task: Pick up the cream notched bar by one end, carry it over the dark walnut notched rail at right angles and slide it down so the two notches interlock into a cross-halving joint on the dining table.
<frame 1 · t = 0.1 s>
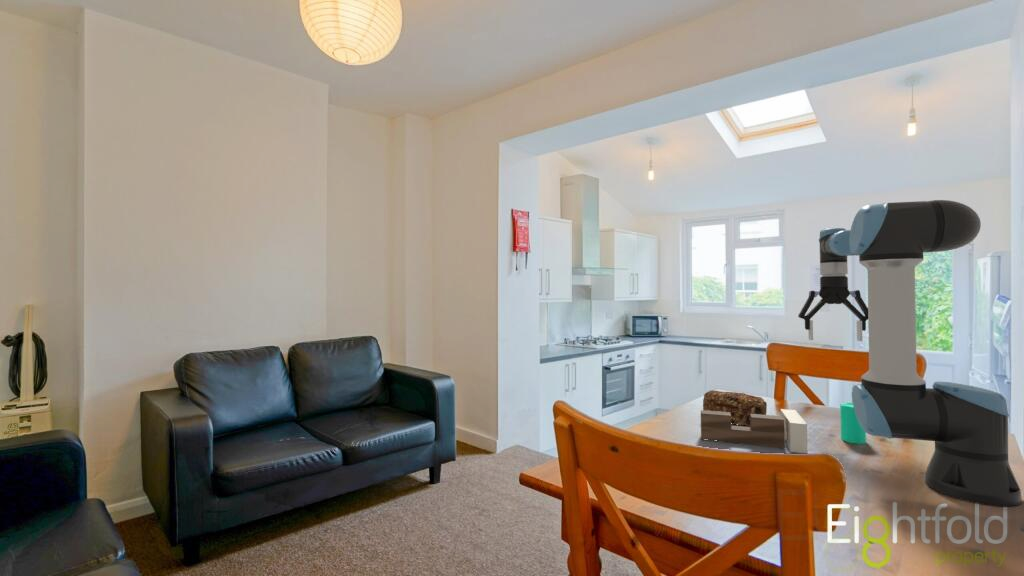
hand: (834, 340, 154), 28 cm above the table, fingers open, 13 cm apart
cream bar: (793, 443, 137), on the table
bread: (734, 422, 161), on the table
walnut rail: (741, 441, 139), on the table
candle: (853, 441, 139), on the table
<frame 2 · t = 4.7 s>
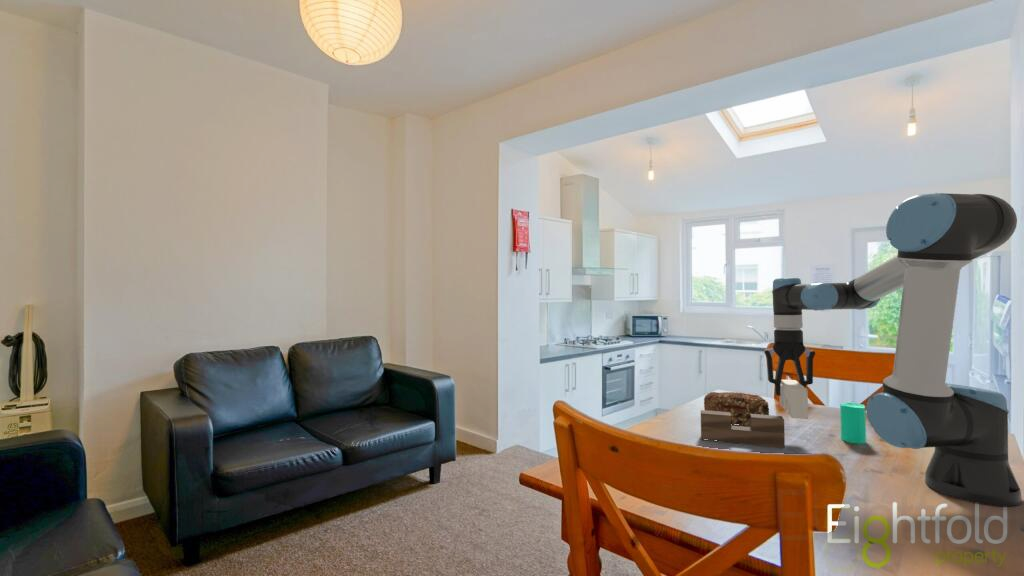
hand: (790, 406, 141), 10 cm above the table, fingers closed on cream bar, 4 cm apart
cream bar: (794, 411, 136), point 9 cm above the table, touching gripper
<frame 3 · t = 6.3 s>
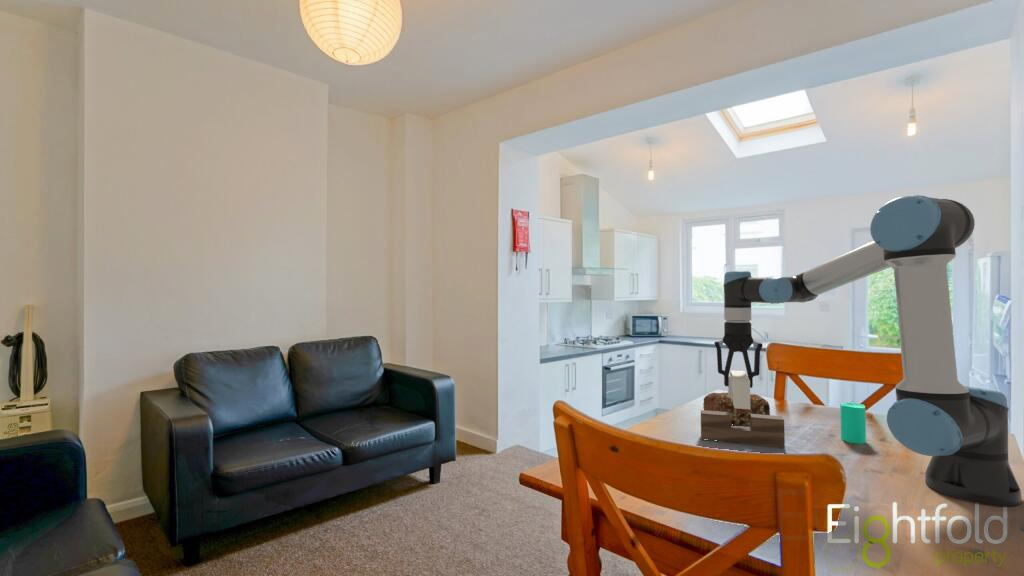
hand: (738, 397, 144), 12 cm above the table, fingers closed on cream bar, 4 cm apart
cream bar: (739, 402, 140), point 12 cm above the table, touching gripper
when the fingers open (1 cm above the table, at t = 8.1 s): cream bar stays where it is, resting on walnut rail.
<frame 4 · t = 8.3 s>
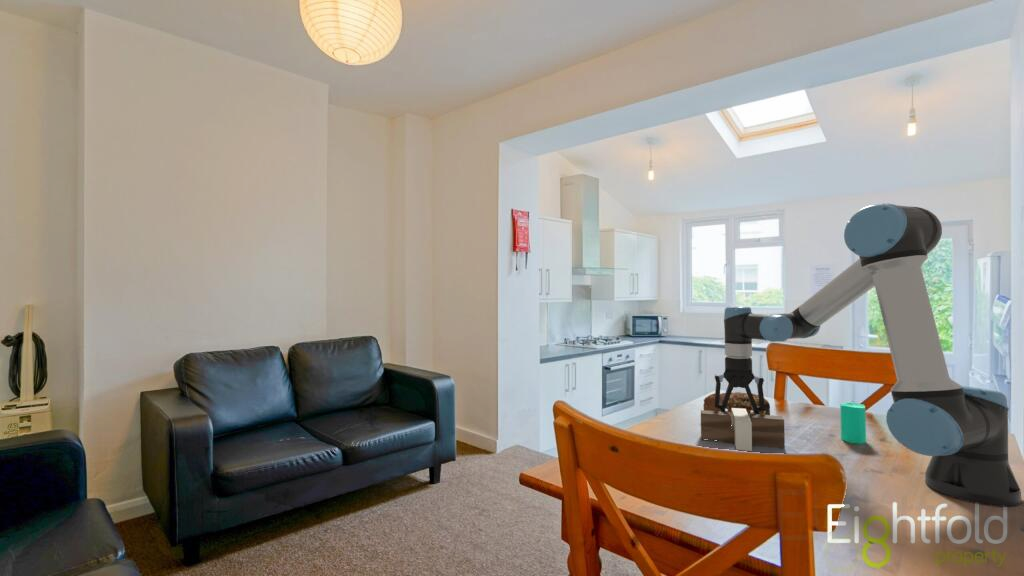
hand: (739, 431, 144), 1 cm above the table, fingers open, 7 cm apart
cream bar: (741, 441, 139), resting on walnut rail
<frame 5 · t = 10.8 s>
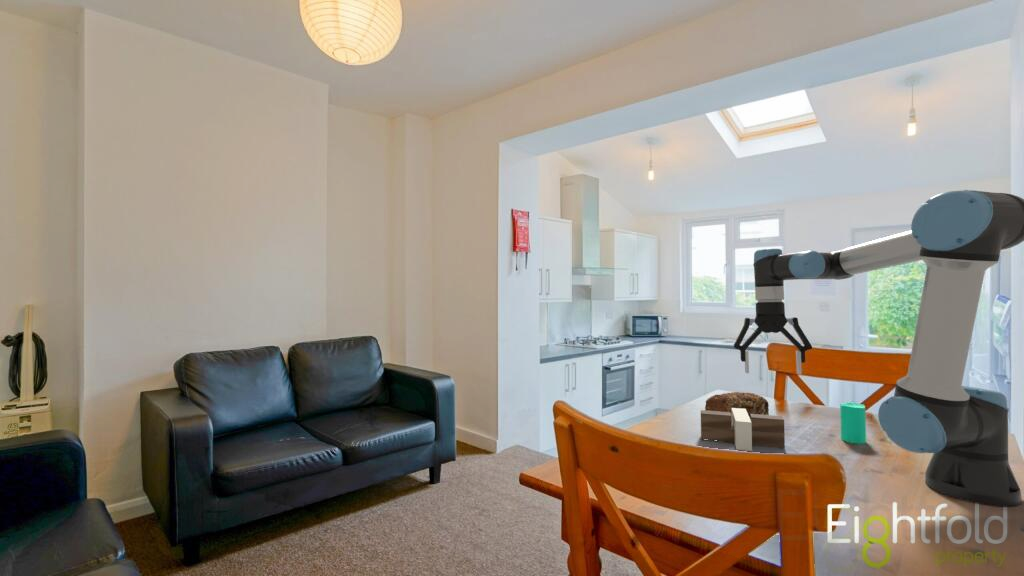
hand: (772, 373, 138), 20 cm above the table, fingers open, 13 cm apart
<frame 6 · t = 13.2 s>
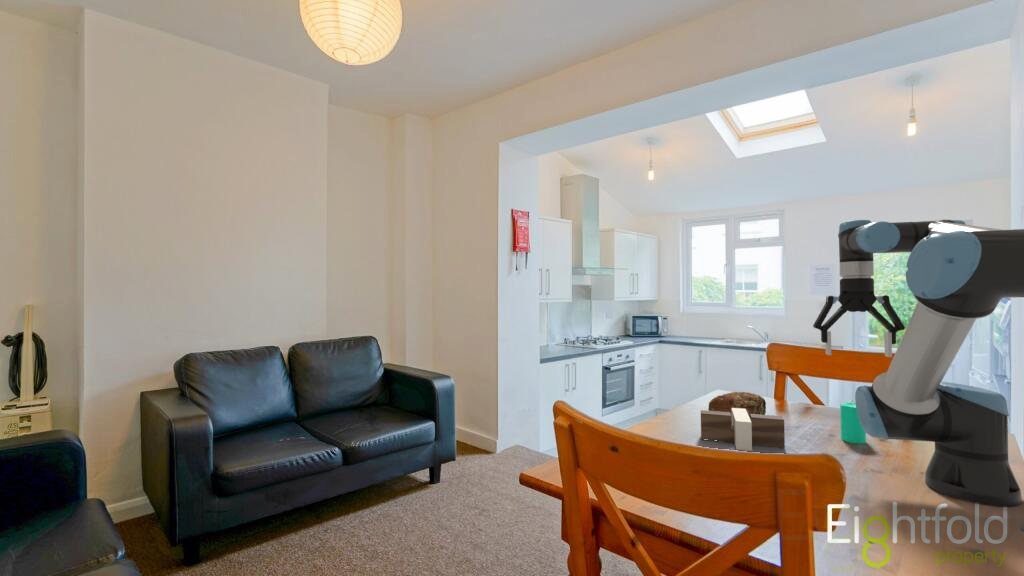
hand: (857, 355, 128), 27 cm above the table, fingers open, 13 cm apart
at the end: cream bar 0.1 cm off-centre on the walnut rail, point 0.0 cm above the walnut rail's base; cream bar tilted 0°; the gripper is holding nothing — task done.
